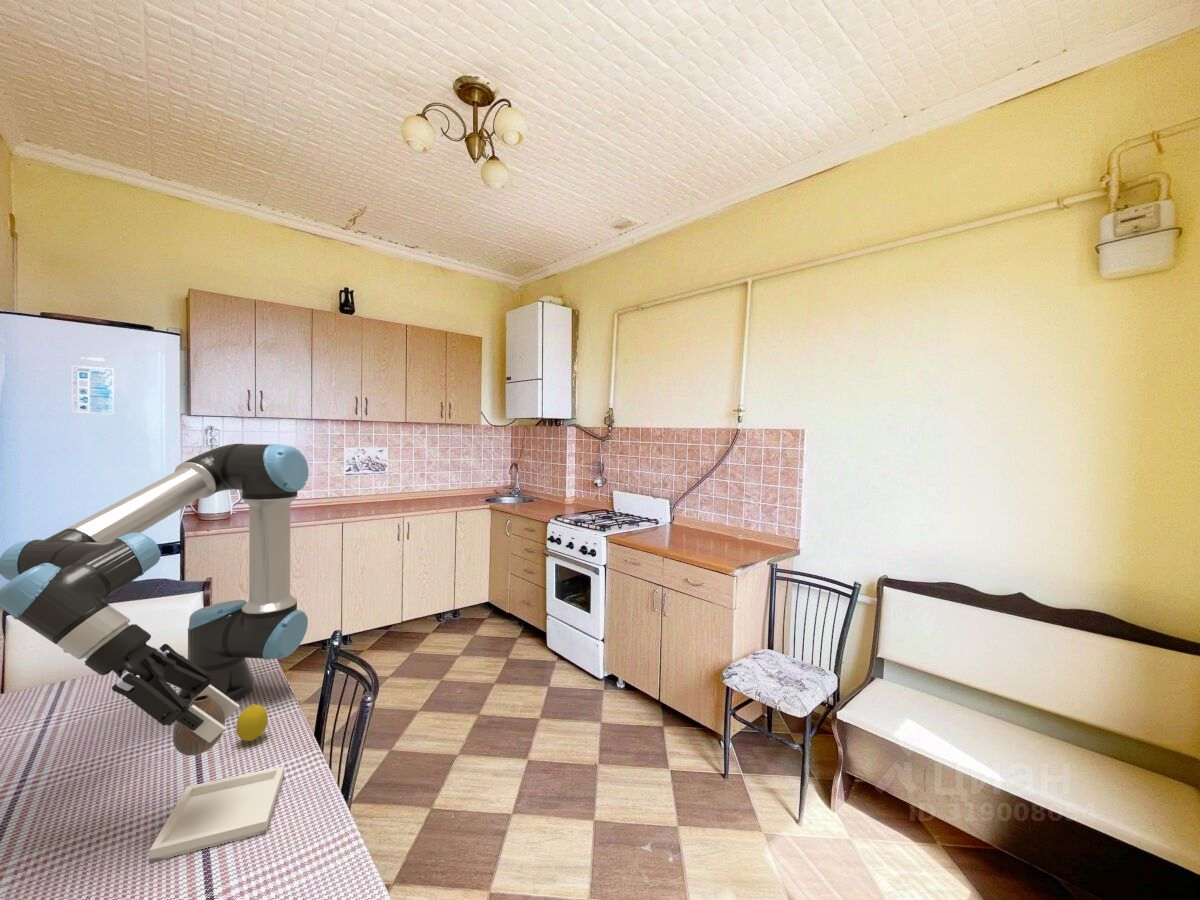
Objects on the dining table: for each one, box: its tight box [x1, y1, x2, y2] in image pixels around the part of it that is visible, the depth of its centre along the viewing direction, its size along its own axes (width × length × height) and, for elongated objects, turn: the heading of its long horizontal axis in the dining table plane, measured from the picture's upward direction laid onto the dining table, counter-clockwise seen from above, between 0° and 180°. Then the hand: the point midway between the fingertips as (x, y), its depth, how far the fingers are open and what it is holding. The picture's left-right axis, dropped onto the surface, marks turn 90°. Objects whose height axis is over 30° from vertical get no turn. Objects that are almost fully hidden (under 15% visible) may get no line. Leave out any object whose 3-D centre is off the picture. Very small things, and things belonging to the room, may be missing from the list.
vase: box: [172, 695, 226, 756], centre depth 82 cm, size 7×7×9 cm
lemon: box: [235, 703, 269, 743], centre depth 103 cm, size 6×6×8 cm
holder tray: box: [148, 765, 285, 864], centre depth 83 cm, size 15×15×2 cm
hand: (225, 723), depth 84 cm, fingers closed on vase, 7 cm apart
